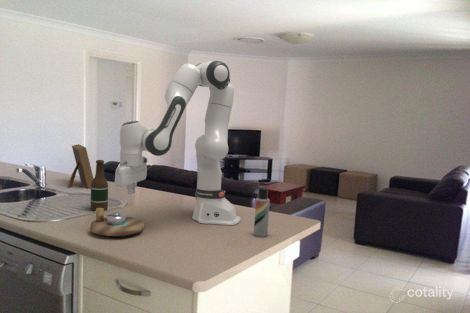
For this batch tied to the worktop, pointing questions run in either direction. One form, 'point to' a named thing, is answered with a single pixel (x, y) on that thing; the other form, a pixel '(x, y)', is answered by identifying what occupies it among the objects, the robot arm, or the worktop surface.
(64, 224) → the worktop surface
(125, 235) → the turntable base
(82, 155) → the photo frame
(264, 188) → the lotion bottle
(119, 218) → the cover
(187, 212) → the worktop surface
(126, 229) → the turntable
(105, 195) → the beer bottle
